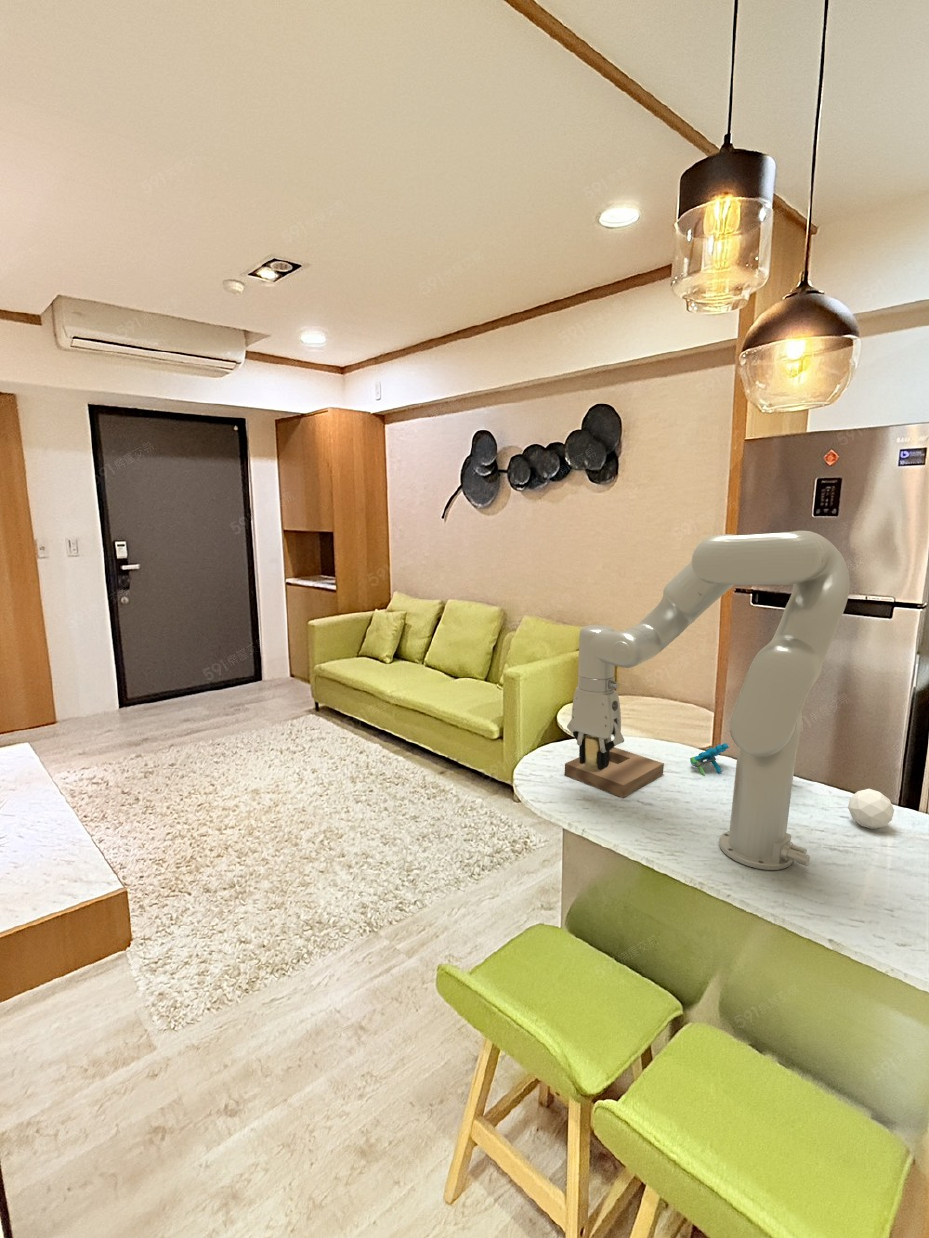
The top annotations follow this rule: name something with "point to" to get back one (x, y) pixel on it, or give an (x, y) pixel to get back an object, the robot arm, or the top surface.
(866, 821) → the geometric ball
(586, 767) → the brass cylinder
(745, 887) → the top surface
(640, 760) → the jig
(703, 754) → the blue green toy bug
